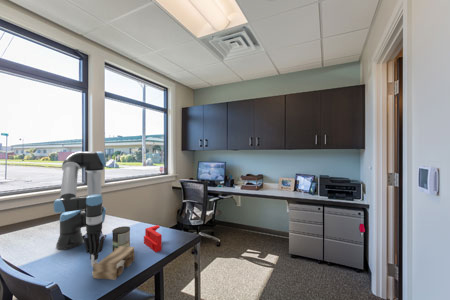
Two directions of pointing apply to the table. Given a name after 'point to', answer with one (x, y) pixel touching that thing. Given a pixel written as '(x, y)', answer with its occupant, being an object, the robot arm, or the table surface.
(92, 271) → the panel
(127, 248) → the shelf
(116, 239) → the coffee can
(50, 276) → the table surface
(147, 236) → the bracket
